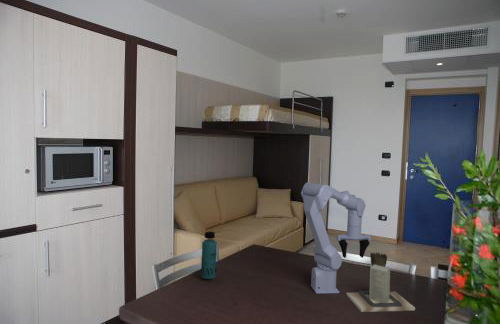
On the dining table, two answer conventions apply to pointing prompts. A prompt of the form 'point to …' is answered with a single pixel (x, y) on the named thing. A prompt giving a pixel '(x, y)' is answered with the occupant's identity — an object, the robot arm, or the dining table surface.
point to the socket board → (370, 305)
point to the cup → (378, 259)
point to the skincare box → (379, 283)
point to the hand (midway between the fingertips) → (352, 256)
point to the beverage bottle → (209, 256)
